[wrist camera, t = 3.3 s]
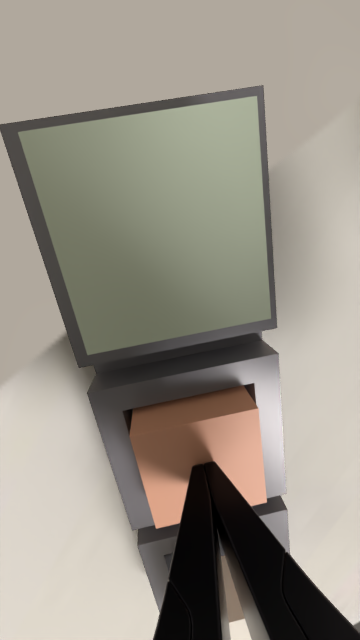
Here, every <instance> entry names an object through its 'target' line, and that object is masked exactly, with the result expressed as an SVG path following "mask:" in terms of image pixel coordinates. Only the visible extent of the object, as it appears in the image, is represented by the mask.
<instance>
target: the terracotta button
mask: <svg viewBox="0 0 360 640" xmlns="http://www.w3.org/2000/svg"><path fill="white" fill-rule="evenodd" d="M129 437H130V440H131V444H132V447H133V451H134V454H135V457H136V461H137V464H138V468H139V471H140V475H141V478H142V482H143V485H144V489H145V492H146V496H147V499H148V503H149V506H150V510H151V513H152V516H153V520H154V523H155V527H156V529H157V528H162V527H166V526H170V525H174V524H178V523H180V520H181V515H182V511H183V506H184V501H185V497H186V492H187V487H188V483H189V478H190V474H191V469H192V466H194V465H197V464H203V465H204V463H206V462H211V461H215V462H216V463H217V464H218V466H219V467H220V468H221V469H222V471H223V472H224V473H225V474H226V476H227V477H228V478H229V479H230V481H231V482H232V483H233V484H234V486H235V487H236V488H237V489H238V491H239V492H240V493H241V494H242V496H243V497H244V498H245V499H246V501H247V502H248V503H249V504H250V506H254V505H258V504H262V503H266V502H267V497H266V486H265V475H264V463H263V452H262V441H261V430H260V419H259V408H258V407H257V405H256V404H255V402H254V401H253V399H252V398H251V396H250V395H249V393H248V392H247V390H246V389H245V387H244V386H243V385H242V386H237V387H232V388H227V389H223V390H218V391H213V392H209V393H204V394H199V395H194V396H190V397H185V398H180V399H176V400H171V401H166V402H161V403H157V404H152V405H147V406H143V407H138V408H133V414H132V421H131V429H130V436H129Z"/></svg>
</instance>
